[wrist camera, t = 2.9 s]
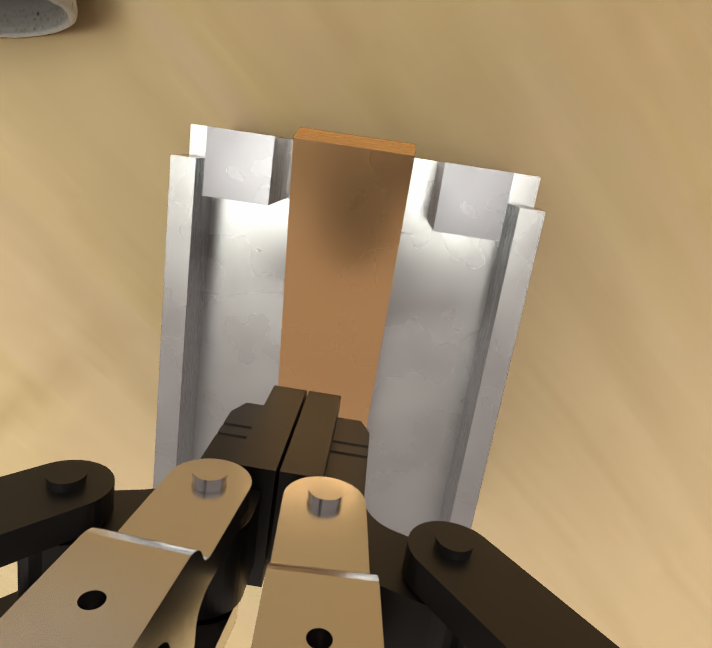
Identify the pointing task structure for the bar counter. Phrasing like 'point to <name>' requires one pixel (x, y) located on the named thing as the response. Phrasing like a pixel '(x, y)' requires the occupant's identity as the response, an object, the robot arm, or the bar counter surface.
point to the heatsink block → (402, 326)
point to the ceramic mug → (35, 17)
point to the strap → (341, 262)
